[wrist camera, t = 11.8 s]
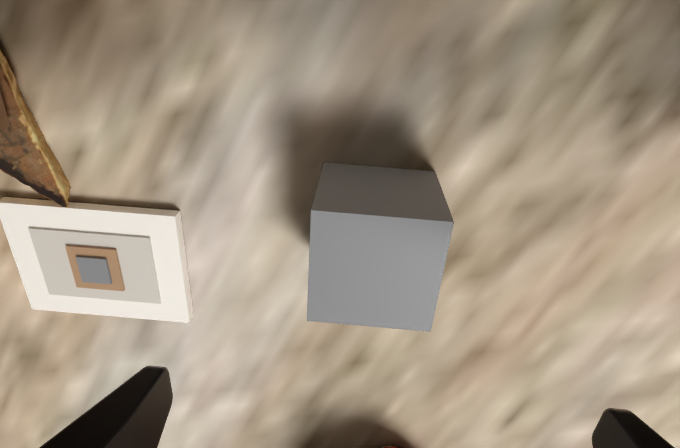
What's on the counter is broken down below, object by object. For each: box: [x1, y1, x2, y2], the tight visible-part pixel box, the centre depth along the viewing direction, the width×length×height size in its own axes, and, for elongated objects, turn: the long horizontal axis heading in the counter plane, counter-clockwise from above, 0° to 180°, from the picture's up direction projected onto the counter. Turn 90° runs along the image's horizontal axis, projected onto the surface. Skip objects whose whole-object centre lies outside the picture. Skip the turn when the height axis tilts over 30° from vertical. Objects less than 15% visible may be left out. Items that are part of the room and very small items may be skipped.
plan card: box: [0, 197, 193, 323], centre depth 18 cm, size 7×5×1 cm
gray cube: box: [307, 162, 454, 332], centre depth 15 cm, size 4×4×4 cm
